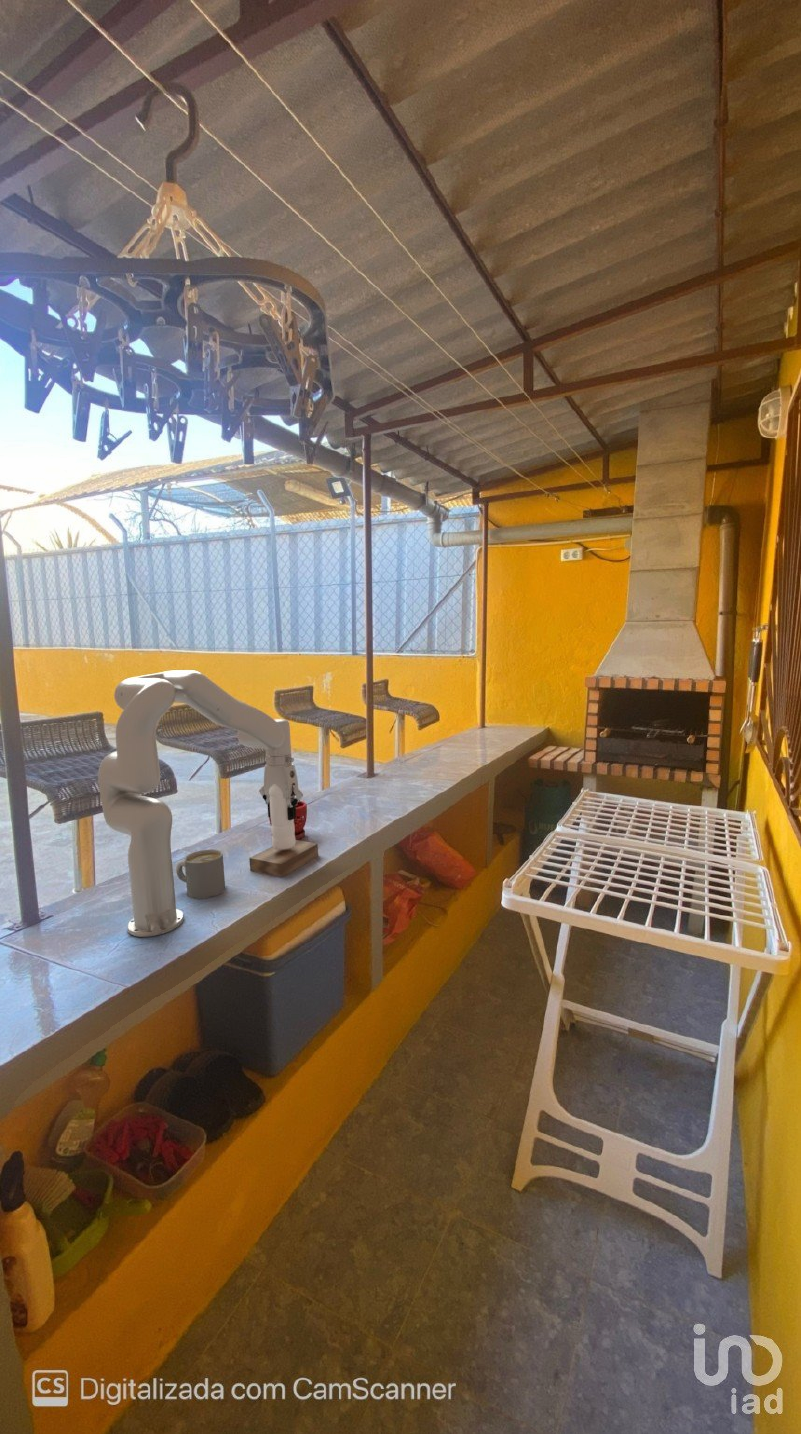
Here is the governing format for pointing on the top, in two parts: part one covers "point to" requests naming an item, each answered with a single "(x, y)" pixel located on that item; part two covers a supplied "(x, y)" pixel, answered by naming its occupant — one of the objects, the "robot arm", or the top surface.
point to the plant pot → (299, 819)
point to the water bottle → (280, 820)
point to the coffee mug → (203, 873)
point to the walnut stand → (283, 859)
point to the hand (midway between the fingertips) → (282, 817)
